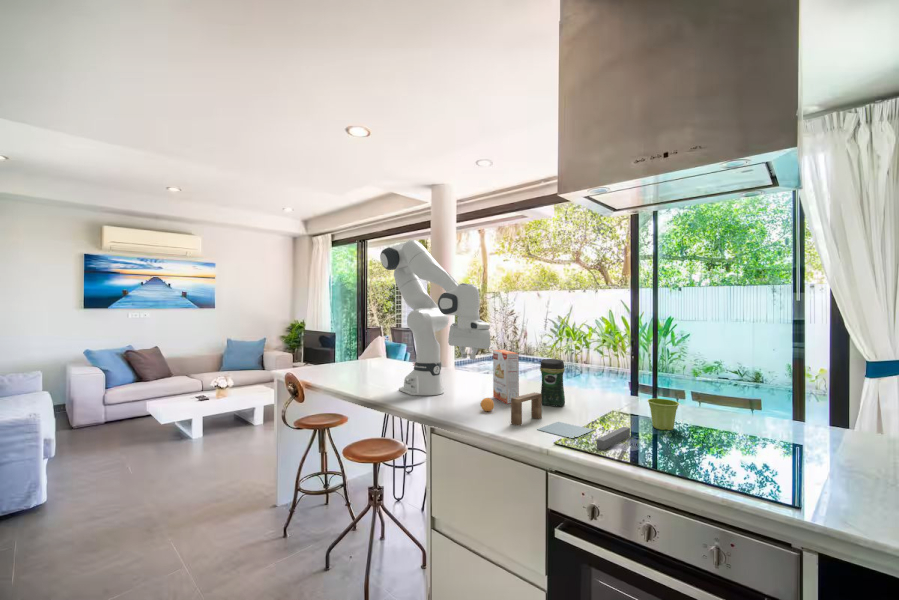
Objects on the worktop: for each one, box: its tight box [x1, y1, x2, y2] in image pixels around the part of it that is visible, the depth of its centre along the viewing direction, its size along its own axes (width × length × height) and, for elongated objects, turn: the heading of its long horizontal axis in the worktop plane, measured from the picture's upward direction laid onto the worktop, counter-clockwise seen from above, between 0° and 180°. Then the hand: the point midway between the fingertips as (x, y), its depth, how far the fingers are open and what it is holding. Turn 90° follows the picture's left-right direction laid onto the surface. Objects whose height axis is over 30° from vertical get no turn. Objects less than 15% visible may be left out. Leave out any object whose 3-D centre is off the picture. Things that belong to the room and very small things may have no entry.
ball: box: [480, 397, 495, 412], centre depth 156 cm, size 5×5×5 cm
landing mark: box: [536, 421, 595, 439], centre depth 133 cm, size 13×13×1 cm
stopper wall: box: [596, 426, 631, 451], centre depth 121 cm, size 2×18×2 cm, turn 134°
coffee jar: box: [539, 358, 566, 407], centre depth 168 cm, size 10×8×19 cm
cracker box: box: [492, 349, 520, 405], centre depth 176 cm, size 14×6×21 cm, turn 17°
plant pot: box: [647, 398, 680, 431], centre depth 136 cm, size 9×9×9 cm
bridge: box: [510, 391, 543, 426], centre depth 144 cm, size 3×14×9 cm, turn 134°
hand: (468, 358), depth 164 cm, fingers open, 3 cm apart
